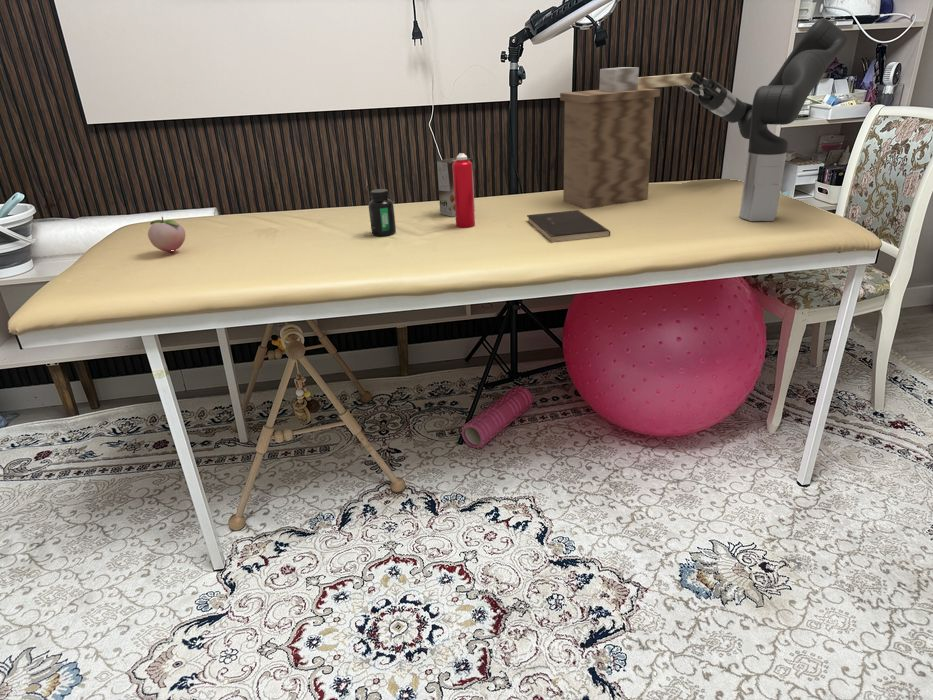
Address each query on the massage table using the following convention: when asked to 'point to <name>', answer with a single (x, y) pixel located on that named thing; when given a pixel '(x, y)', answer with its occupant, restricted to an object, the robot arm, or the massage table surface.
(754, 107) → the robot arm
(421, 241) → the massage table surface
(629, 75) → the bar
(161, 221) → the decorative fruit
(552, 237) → the hardcover book
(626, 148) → the plinth
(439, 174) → the coffee box
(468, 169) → the bottle
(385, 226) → the supplement bottle
